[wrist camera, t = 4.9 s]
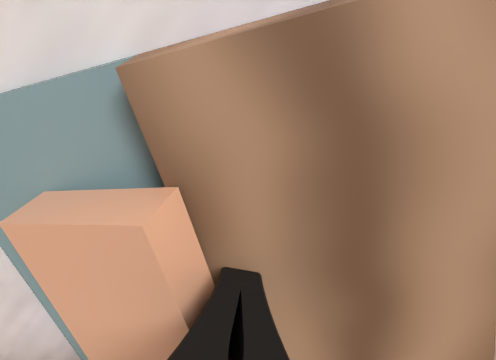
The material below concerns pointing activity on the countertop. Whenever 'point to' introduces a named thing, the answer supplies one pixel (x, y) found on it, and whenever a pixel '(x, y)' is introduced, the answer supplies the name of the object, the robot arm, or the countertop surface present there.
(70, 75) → the mat
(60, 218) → the tile
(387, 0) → the deck
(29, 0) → the countertop surface
